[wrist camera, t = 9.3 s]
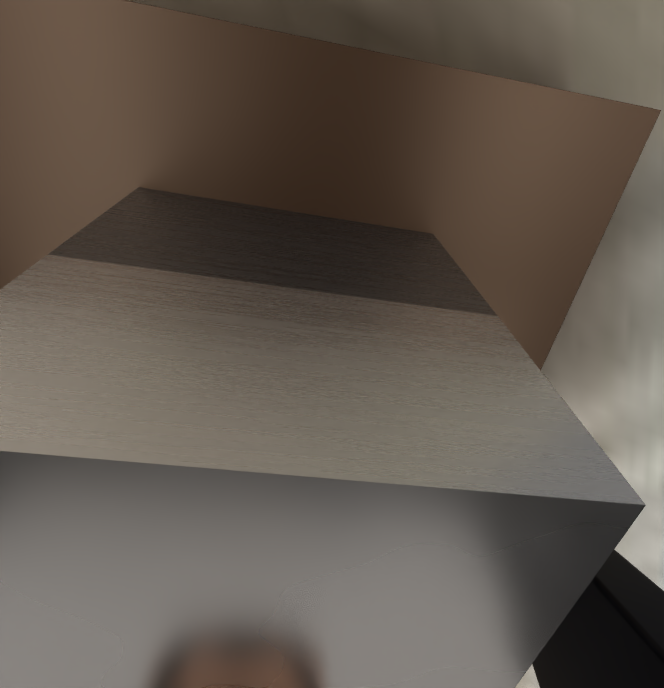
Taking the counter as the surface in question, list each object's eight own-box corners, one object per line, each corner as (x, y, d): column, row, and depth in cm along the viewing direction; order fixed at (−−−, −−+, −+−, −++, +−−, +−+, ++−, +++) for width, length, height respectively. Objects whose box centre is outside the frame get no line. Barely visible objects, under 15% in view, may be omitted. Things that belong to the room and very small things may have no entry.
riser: (81, 488, 15) (35, 576, 12) (16, -13, 9) (-104, -47, 6) (414, 513, 16) (435, 597, 14) (569, 98, 10) (661, 109, 8)
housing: (148, 519, 12) (-10, 982, 6) (138, 187, 8) (-384, 571, 2) (348, 533, 12) (390, 960, 6) (433, 233, 8) (738, 625, 3)
